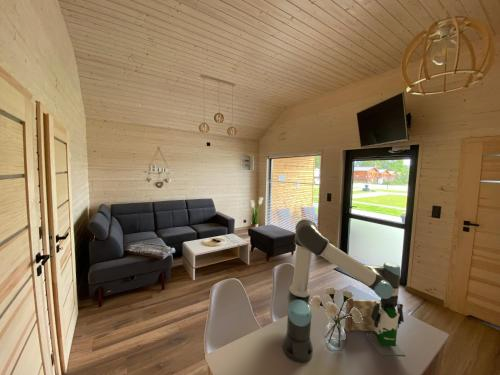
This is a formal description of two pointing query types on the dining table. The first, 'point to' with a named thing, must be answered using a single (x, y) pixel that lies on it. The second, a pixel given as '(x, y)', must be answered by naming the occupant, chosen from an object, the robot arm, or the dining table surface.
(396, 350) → the keeper pad
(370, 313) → the door
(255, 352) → the dining table surface
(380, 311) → the soya milk
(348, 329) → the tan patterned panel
